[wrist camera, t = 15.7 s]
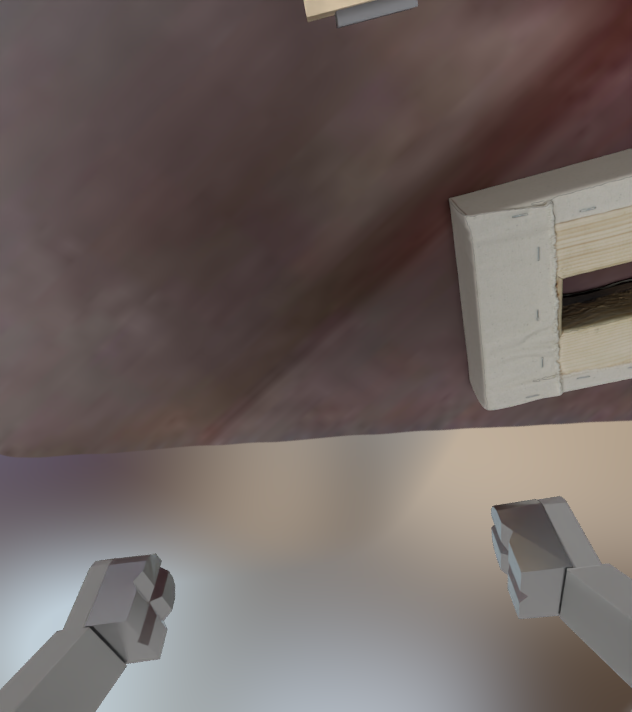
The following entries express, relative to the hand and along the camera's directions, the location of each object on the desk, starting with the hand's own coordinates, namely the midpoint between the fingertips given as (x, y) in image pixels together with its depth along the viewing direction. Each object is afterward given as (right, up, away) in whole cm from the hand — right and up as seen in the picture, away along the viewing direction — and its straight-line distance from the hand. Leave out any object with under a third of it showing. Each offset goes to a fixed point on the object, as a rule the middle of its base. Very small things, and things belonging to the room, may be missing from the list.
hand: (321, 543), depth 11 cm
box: (+31, +15, +38) cm, 51 cm away
